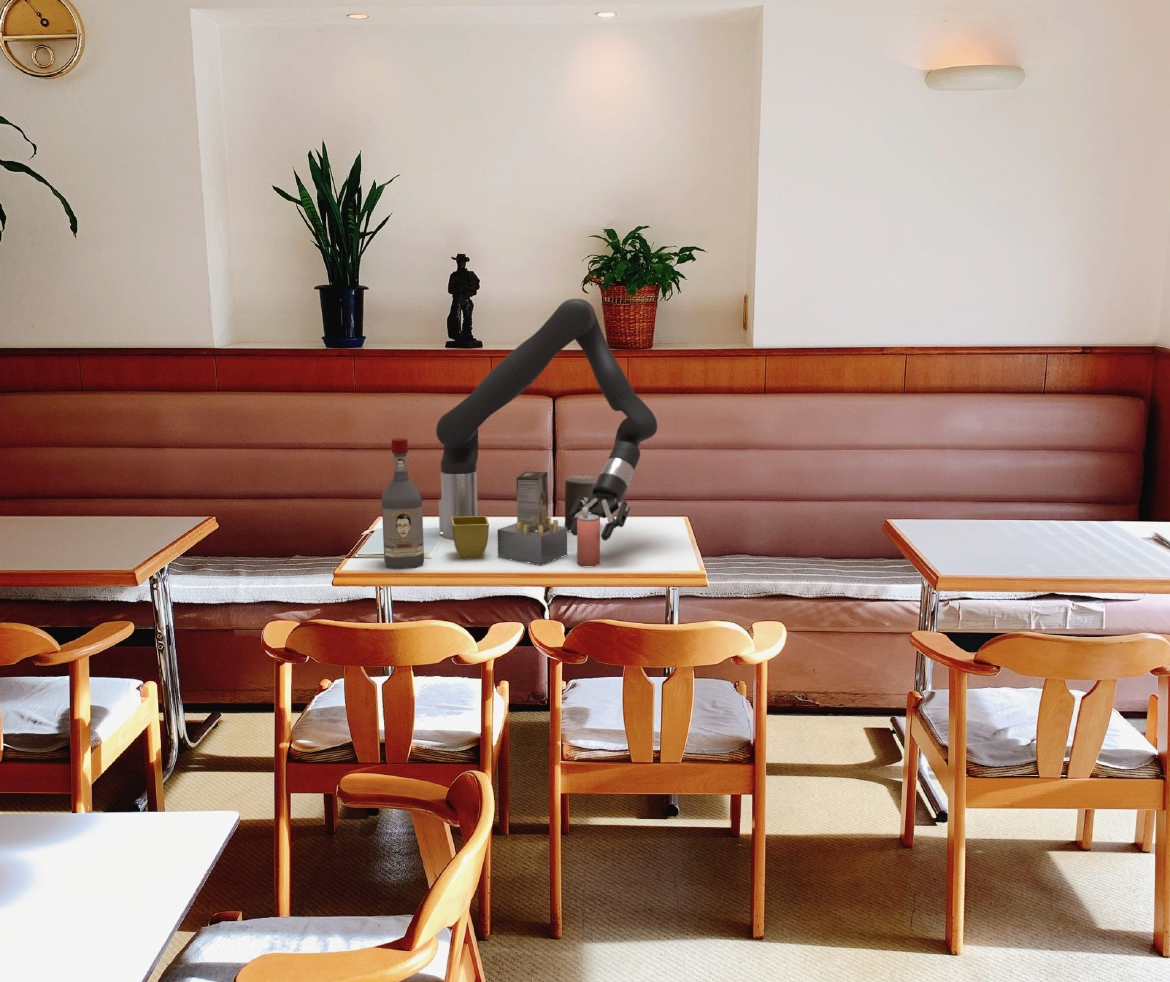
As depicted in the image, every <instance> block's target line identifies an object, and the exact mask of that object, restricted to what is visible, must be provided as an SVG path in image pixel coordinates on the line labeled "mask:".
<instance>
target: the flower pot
mask: <svg viewBox="0 0 1170 982" xmlns="http://www.w3.org/2000/svg"><path fill="white" fill-rule="evenodd" d="M451 522H452V530H453V538H454V539H453V541H454V547H455V550H456V552H457V555H458V556H459V558H460V559H467V558H468V559H470V558H471V559H473V558H475V559H476V558H477V559H479V558H481V557H483V555H484V553H485V551H486V548H487V546H488V540H489V530H490V522H489V519H488V517H487V516H485V515H484V516H483V515H479V516H478V515H477V516H468V517H451Z"/></svg>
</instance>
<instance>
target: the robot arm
mask: <svg viewBox="0 0 1170 982" xmlns="http://www.w3.org/2000/svg"><path fill="white" fill-rule="evenodd" d="M573 341H575V342H577V344H578V345H579V347H580V348H581V349H582V351H583V353H584V355H585V357H586V359H587V361H588V363H589V366H590V367H591V370H592V373H593V376H594V378H595V381H596V383H597V386H599V389H600V391H601V392H602V394H603V396H604V398H605V401H607V404H608V405H609V407H610V408H611V410H613V411H614V412H622V413H623V414H624V415H625V416H626V417H625V418H624V419H623V420H622V421H621V422H620V424H619V426H618V428H617V430H616V435H615V439H614V446H613V448H612V450H611V452H610V455H609V456H608V459H607V461H606V462H605V464H604V465H603V467H602V469H601V471H600V474H599V475H598V477H597V478H598V479H597V482H596V484H595V486H594V488H593V493H592V495H591V496H590V497H589V498H585V497H583V495H579V496H578V498H577V500H576V502H575V504H574V505H573V507H572V509H571V511H570V515H571V516H572V518H573V519H574V521H573V523H572V526H571V528H570V530H571V532H570V533H571V534H572V536H574V537H575V536H576V537H577V518H578V516H580V515H583V507H588V510H590V513H588V514H593V515H598V516H599V517H600V518H602V519H607V523H605V525H604V528H603V529H602V532H601V533H600V539H602V541H605V542H606V541H608V539H610V538H611V536H612V534H613V531H614V529H616V528H618V527H619V528H623V527H624V525H625V523H626V520H627V518H628V515H629V512H630V509H631V506H630V504H629V503H628V502H627V501H626V500H623V499H624V497H625V494H626V493H627V490H628V487H629V485H630V483H631V480H632V478H633V474H634V472H635V470H636V467H637V466H638V463H639V460H640V457H641V450H640V449H639V445H640V444H641V442H643V441H646V440H648V439H651V438H653V436H655V434H656V433H657V431H658V421H657V418H656V416H655V414H654V413H653V411H652V410H651V409H650V408H649V407H648V406H647V404H645V403H644V401H643V400H642V399H641V398H640V396H638V395H637V394H636V392H635V391H634V388H633V387H632V385H631V384H630V382H629V380H628V378H627V376H626V375H625V373H624V371H623V369H622V368H621V366H620V364H619V363H618V361H617V359H616V358H615V355H614V354H613V352H612V351H611V349H610V347H609V345H608V342H607V341H606V339H605V336H604V334H603V331H602V328H601V326H600V323H599V321H598V317H597V314H596V311H595V308H594V306H593V305H592V304H591V303H590V302H589V301H587V300H586V299H582V298H571V299H567V300H565V301H563V302H562V303H561V304H560V305H559V306H558V307H557V308H556V309H555V311H554V312H553V314H551V316H549V318H548V319H547V320H546V321H545V322H544V324H543V325H542V326H541V327H540V328H539V329H538V330H537V331H536V332H535V333H534V334H532V335H531V336H530V337H528V338H527V339H525V341H523V342H522V343H521V344H520V345H518V346H517V347H516V348H515V349H513V351H511V352H510V353H509V354H507V356H505V357H504V359H502V360H501V361H500V362H499V363H498V364H497V365H496V366H495V367H494V368H493V369H492V370H491V371H490V372H489V373H488V374H487V375H486V377H484V379H482V381H481V382H480V383H479V384H478V385H477V386H476V387H475V388H474V390H473V391H472V392H471V393H470V394H469V395H468V396H467V397H466V398H465V399H463V400H462V401H461V402H459V403H458V404H457V405H455V406H454V407H453V408H452V409H450V410H449V411H448V412H446V413H444V414H443V415H442V416H440V418H439V420H438V422H437V425H436V429H435V430H436V431H435V432H436V433H435V434H436V437H437V440H438V441H439V442H440V443H441V444H442V445H443V451H442V452H443V454H442V458H441V460H440V483H441V484H440V487H441V488H440V490H441V498H439V499H438V518H439V519H438V520H439V521H438V523H439V526H438V527H439V533H440V532H443V535H442V536H443V537H444V538H446V539H451V540H452V539H453V540H454V538H453V530H452V522H451V517H468V516H478V492H477V491H478V486H477V485H478V484H477V483H478V480H477V462H478V459H479V458H478V457H479V427H480V426H481V425H482V424H483V423H484V422H485V421H486V420H487V419H488V418H489V417H491V416H492V415H493V414H495V413H496V412H497V411H499V410H500V409H502V408H503V407H505V406H507V405H508V404H509V403H510V402H512V401H513V400H515V398H517V397H518V396H519V395H520V394H522V393H523V392H524V391H526V389H527V388H529V386H531V385H532V384H533V382H535V381H536V380H537V379H538V377H539V376H541V374H543V371H544V370H545V369H546V368H547V366H548V365H549V364H550V362H551V361H552V360H553V359H554V357H555V356H556V355H557V354H559V352H560V351H562V350H563V349H564V348H566V347H567V346H568V345H569V344H570V343H572V342H573ZM587 503H588V504H587ZM586 504H587V505H586ZM617 510H618V512H617V515H616V517H615V514H614V513H615V512H616V511H617Z"/></svg>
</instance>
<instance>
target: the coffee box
mask: <svg viewBox="0 0 1170 982" xmlns="http://www.w3.org/2000/svg"><path fill="white" fill-rule="evenodd" d="M548 475H549V474H548V471H524V472H523V473H521V474H520V475H518V476H517V477H516V512H517V513H516V517H517V518H516V523H517V522H520V519H521V518H524V519H525V521H531V522H532V517H537V523H543V524H545V518H546V517H549V499H548V498H549V497H548V496H549V491H548V489H549V488H548V486H549V485H548V480H549V479H548Z"/></svg>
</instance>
